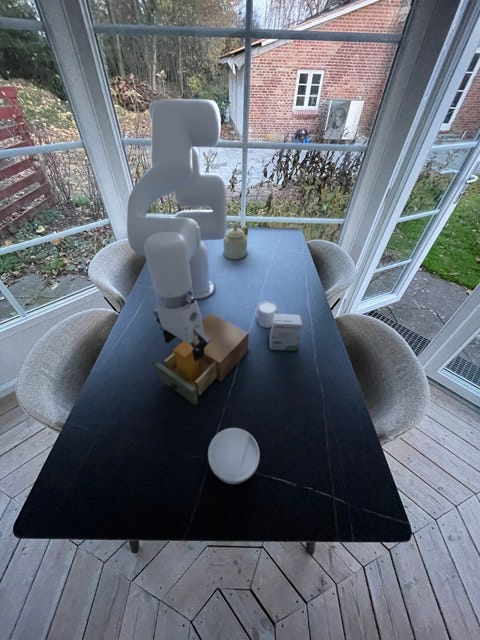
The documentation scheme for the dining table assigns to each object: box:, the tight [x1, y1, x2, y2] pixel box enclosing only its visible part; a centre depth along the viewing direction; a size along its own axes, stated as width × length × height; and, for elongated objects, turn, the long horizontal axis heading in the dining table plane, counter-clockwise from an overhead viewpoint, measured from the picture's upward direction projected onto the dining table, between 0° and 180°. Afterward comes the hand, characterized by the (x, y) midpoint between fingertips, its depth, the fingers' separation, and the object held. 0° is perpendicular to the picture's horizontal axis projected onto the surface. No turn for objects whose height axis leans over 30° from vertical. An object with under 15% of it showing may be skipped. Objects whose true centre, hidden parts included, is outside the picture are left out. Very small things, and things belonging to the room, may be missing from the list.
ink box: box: [269, 313, 303, 351], centre depth 83 cm, size 8×5×12 cm, turn 87°
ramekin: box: [207, 427, 261, 485], centre depth 59 cm, size 11×11×5 cm
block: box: [172, 341, 201, 384], centre depth 71 cm, size 4×4×12 cm
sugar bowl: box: [223, 223, 249, 260], centre depth 125 cm, size 15×11×15 cm
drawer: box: [154, 352, 219, 406], centre depth 74 cm, size 14×14×7 cm
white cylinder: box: [257, 300, 279, 328], centre depth 92 cm, size 7×7×7 cm
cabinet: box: [179, 312, 250, 382], centre depth 80 cm, size 14×15×9 cm
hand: (184, 348), depth 66 cm, fingers open, 9 cm apart
